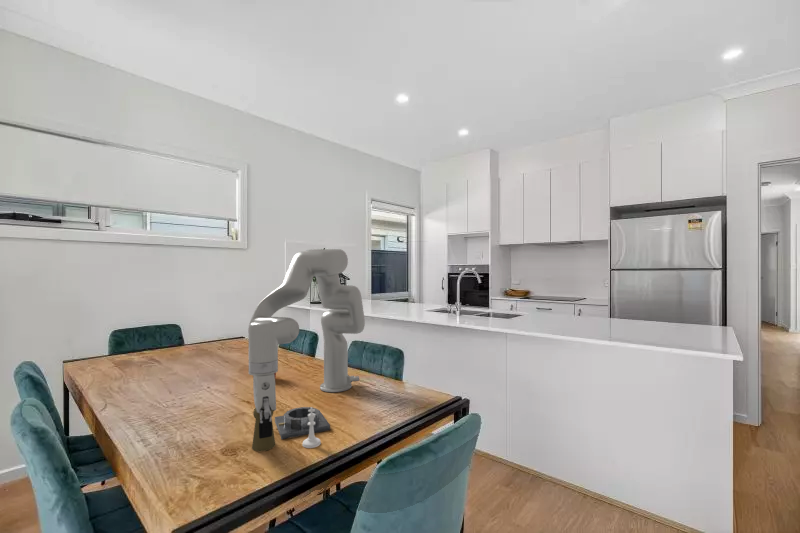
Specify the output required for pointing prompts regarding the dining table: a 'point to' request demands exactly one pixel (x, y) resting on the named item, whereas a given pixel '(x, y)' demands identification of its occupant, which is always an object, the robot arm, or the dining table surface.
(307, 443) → the chess piece
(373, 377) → the dining table surface
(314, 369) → the dining table surface
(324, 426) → the socket
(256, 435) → the olive game pawn
